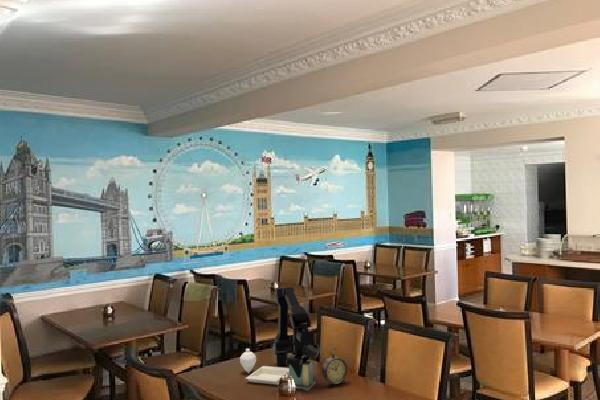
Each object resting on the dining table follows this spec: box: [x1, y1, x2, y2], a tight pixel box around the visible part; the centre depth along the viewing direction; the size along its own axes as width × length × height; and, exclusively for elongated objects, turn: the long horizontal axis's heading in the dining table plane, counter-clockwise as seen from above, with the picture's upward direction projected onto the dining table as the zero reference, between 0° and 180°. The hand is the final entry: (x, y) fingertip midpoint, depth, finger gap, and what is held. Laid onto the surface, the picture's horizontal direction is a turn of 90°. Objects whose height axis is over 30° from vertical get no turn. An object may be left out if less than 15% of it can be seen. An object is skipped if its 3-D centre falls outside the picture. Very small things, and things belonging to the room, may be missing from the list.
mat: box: [295, 380, 317, 392], centre depth 216 cm, size 10×10×1 cm
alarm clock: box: [321, 346, 348, 388], centre depth 216 cm, size 11×5×16 cm, turn 117°
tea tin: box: [288, 360, 314, 386], centre depth 217 cm, size 5×9×9 cm, turn 69°
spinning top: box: [239, 348, 257, 374], centre depth 234 cm, size 8×8×12 cm
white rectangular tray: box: [245, 365, 289, 386], centre depth 225 cm, size 18×15×3 cm
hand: (301, 375), depth 217 cm, fingers closed on tea tin, 5 cm apart
